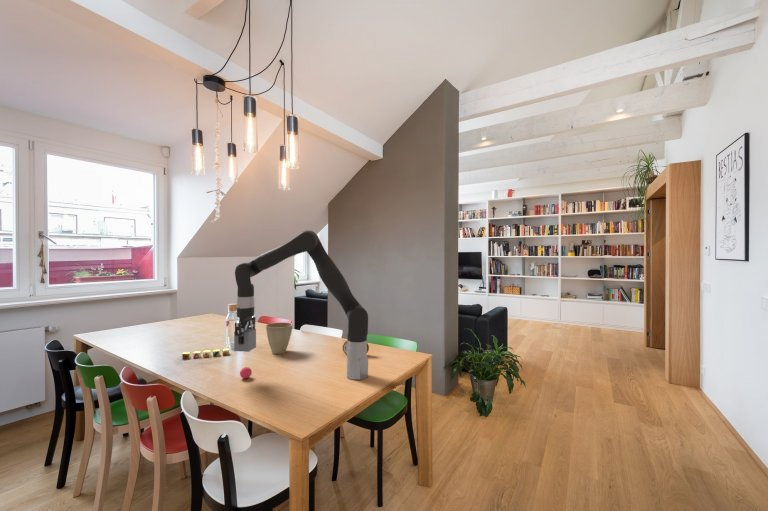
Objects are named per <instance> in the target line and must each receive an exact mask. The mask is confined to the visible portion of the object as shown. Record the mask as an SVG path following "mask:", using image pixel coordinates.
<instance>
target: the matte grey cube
mask: <svg viewBox="0 0 768 511" xmlns="http://www.w3.org/2000/svg"><path fill="white" fill-rule="evenodd" d="M237 333H238V331H237ZM233 338H234V339H233V341H234V342H233V349H234V350H233V351H234V352H247V353H248V352H250V351H252V350H254V349H255V348H257V328H255V329H249V328H248V329H246V331H245V332H244V344H242V345H240V344H238V336H235V331H234V332H233Z"/></svg>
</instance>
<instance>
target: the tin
mask: <svg viewBox="0 0 768 511" xmlns="http://www.w3.org/2000/svg"><path fill="white" fill-rule="evenodd" d="M369 350H370V346H369V343H367V353H369ZM342 351H343V353H344V354H345V355H347V340H345V342H344V343H343V345H342Z"/></svg>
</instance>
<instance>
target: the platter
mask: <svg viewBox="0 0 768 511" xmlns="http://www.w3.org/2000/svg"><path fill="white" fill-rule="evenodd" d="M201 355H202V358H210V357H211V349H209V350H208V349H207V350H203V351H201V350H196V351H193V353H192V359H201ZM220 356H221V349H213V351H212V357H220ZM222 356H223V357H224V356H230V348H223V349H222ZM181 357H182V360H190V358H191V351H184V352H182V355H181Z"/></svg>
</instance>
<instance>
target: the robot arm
mask: <svg viewBox="0 0 768 511" xmlns="http://www.w3.org/2000/svg"><path fill="white" fill-rule="evenodd" d="M302 253H307V254H308V255H309V257H310V258H311V259H312V261H313V263H314V266H315V268H316V270H317V273H318V275H319V277H320V279H321V281H322V282H323V284H324V286H325V287H326V289H327V290H328V291H329V293H331V295H332V296H333V297H334V298H335V299H336V301H338V303H339V304H340V306H341V307H342V309H343V312H344V313H345V315H346V318H347V320H348V325H347V327H348V328H347V336H346V338H347V340H346V341H347V354H346V377H347V379H350V380H357V381H361V380H364V379H366V378H367V377H369V356H367V354H368V352H367V344H368V341H367V340H368V335H369V334H368V332H369V315H368V312H367V310H366V309H365V308H364V307H363V306H362V305H361V304H360V302H359V301H358V300H357V299H356V298H355V296H354V295H353V293H352V291H351V289H350V286H349V284H348V283H347V280H346V279H345V277H344V275H343V274H342V272H341V271H340V269H339V268H338V266H337V265H336V264H335V262H334V260H332V258H331V257H330V256H329V254H328V253H327V251H326V249H325V248H324V246H323V244H322V241H321V240H320V237H319V236H318V235H317V233H316V232H314V231H313V230H304V231H301V232H300V233H299V234H298V235H297V236H295V237H293V238H292V239H291V240H289V241H287V242H286V243H284V244H282V245H280V246H278V247H274V248H272V249H270V250H268V251H265V252H263V253H262V254H259V255H257V256H256V257H255V258H254V259H252V260H249V261H248V262H240V263H239V264H237V265H236V267H235V269H234V276H235V282H236V286H237V298H236V317H237V318H239V320H238V321H237V322H234V332H235V336H238V344H240V345H242V344H244V332H245V331H246V329H248V328H249V329H256V317H255V287H254V284H253V283H252V280H251V278H253V277H254V276H256V275H258V274H260V273H261V272H264V271H265V270H267V269H270V268H272V267H274V266H275V265H277V264H279V263H281V262H283V261H285V260H287V259H288V258H291V257H293V256H295V255H299V254H302ZM237 331H238V333H237Z"/></svg>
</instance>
